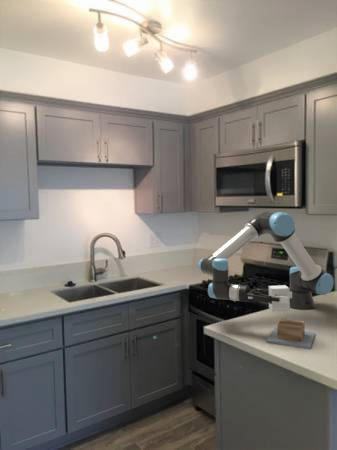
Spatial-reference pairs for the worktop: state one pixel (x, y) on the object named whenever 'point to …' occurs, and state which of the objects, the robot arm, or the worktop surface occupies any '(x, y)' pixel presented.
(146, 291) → the worktop surface
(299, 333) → the walnut plinth
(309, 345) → the base board
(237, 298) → the robot arm
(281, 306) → the small box
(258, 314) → the worktop surface
